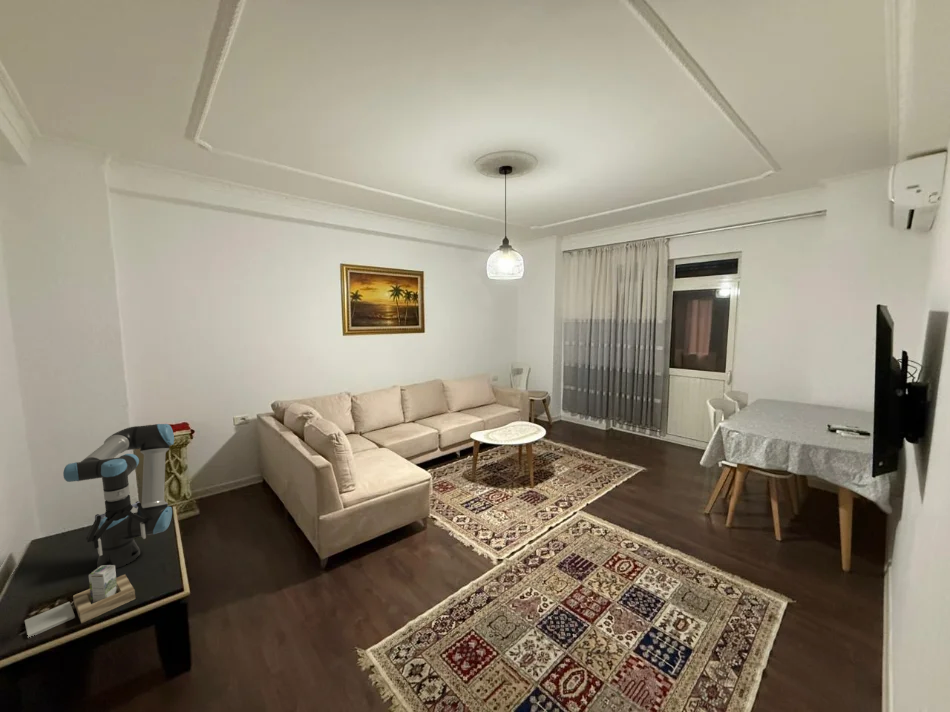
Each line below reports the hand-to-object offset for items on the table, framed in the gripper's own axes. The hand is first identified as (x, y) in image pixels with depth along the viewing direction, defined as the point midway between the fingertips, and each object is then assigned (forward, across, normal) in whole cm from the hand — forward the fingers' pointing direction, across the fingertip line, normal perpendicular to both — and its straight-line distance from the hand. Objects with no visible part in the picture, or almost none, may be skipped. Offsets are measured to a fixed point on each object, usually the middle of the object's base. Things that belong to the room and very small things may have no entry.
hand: (122, 545), depth 157 cm
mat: (+23, -21, +9) cm, 33 cm away
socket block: (+23, -6, +4) cm, 25 cm away
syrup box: (+24, -6, +4) cm, 25 cm away
